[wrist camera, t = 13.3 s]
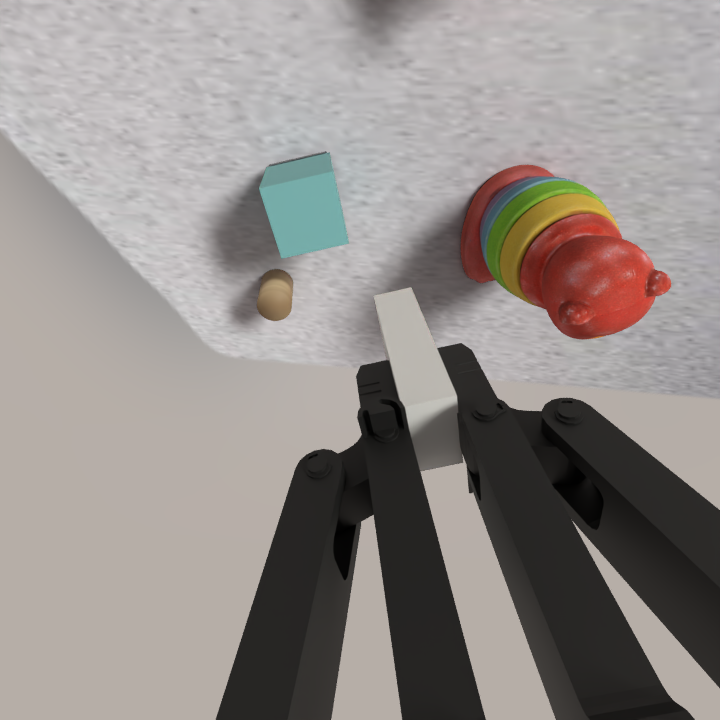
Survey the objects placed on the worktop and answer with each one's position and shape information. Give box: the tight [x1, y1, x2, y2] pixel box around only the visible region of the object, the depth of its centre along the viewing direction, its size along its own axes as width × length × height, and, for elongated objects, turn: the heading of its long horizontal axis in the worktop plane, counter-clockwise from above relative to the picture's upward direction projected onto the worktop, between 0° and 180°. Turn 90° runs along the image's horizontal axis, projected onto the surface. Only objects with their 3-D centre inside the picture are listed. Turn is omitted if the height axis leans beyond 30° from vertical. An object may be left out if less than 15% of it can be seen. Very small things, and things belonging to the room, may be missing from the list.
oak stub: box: [257, 269, 293, 321], centre depth 41 cm, size 3×3×4 cm
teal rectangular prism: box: [259, 153, 349, 259], centre depth 34 cm, size 5×5×7 cm
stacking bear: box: [461, 165, 671, 339], centre depth 34 cm, size 11×10×18 cm
